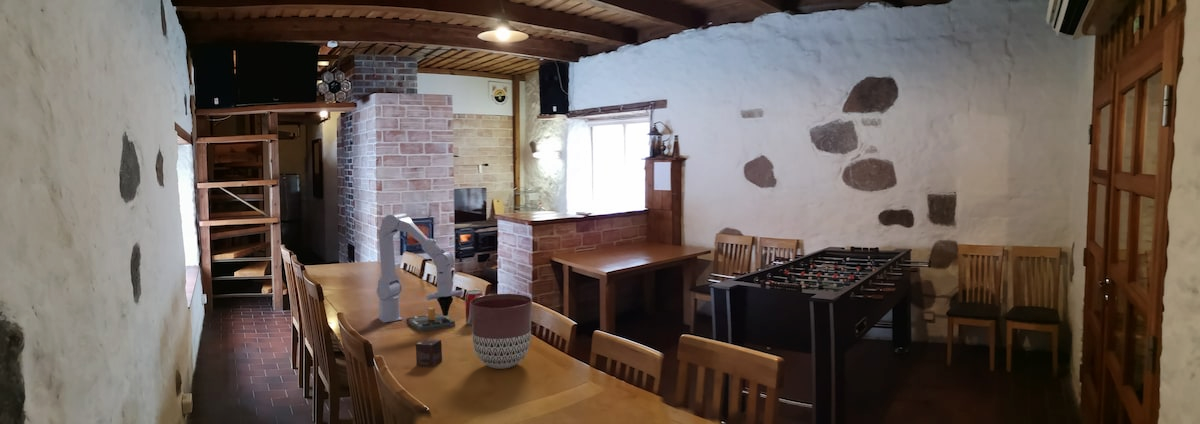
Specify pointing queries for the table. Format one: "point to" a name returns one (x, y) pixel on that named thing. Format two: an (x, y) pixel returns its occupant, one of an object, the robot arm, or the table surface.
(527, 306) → the planter
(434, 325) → the panel
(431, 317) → the breaker lever
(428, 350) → the box
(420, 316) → the twin grey rollers
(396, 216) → the robot arm
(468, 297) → the soda can
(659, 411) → the table surface
